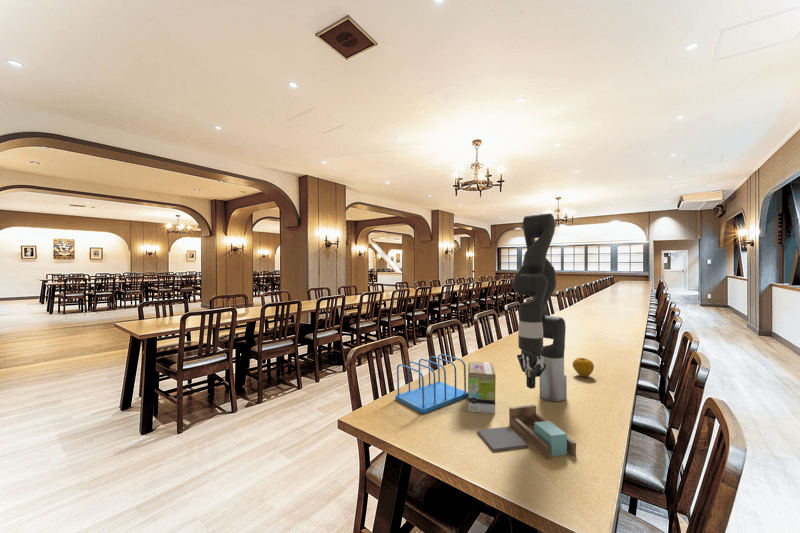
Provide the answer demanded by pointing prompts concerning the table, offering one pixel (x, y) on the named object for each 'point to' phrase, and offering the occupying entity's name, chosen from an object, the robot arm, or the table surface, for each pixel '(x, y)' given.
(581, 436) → the table surface
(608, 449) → the table surface
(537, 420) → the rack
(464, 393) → the file sorter
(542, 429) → the teal blank
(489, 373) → the tea box
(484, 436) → the felt mat
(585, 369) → the apple
